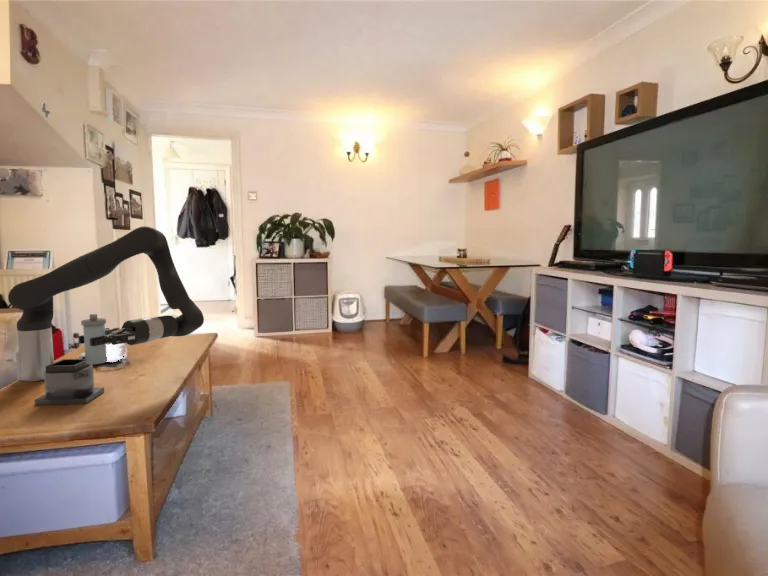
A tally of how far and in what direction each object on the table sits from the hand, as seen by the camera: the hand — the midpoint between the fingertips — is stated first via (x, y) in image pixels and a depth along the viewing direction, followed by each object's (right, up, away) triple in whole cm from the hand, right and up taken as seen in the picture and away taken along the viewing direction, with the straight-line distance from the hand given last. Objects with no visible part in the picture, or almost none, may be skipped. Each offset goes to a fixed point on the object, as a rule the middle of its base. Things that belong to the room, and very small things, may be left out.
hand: (85, 341), depth 123 cm
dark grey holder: (-12, -19, +11) cm, 25 cm away
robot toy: (-27, -15, +50) cm, 58 cm away
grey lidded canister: (+1, -6, +3) cm, 7 cm away
